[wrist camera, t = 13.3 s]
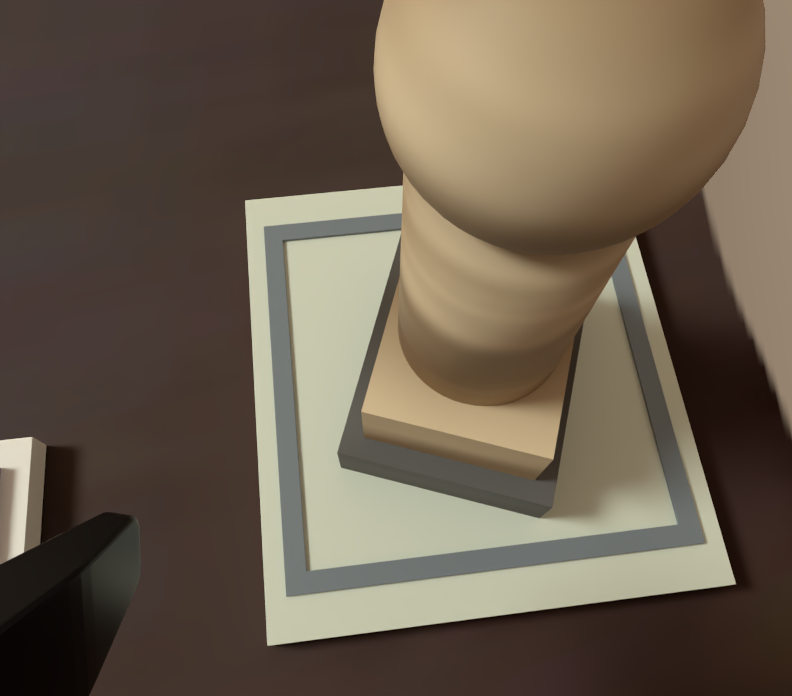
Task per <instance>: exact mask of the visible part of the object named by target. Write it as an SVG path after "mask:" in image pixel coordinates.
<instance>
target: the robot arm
mask: <svg viewBox="0 0 792 696" xmlns="http://www.w3.org/2000/svg"><path fill="white" fill-rule="evenodd" d="M140 570H141V563H140V530H139V523H138V520H137V519H136V518H135V517H134V516H132V515H125V514H118V513H112V512H105V513H102V514H100V515H98V516H96V517H94V518H92V519H90V520H88V521H86V522H84V523H82V524H80V525H78V526H76V527H74V528H72V529H70V530H68V531H66V532H64V533H62V534H60V535H58V536H56V537H54V538H52V539H50V540H48V541H46V542H44V543H42V544H40V545H38V546H36V547H34V548H32V549H30V550H28V551H26V552H24V553H22V554H20V555H18V556H16V557H14V558H12V559H10V560H8V561H6V562H4V563H2V564H0V696H89V695H90V693H91V690H92V688H93V686H94V684H95V682H96V679H97V677H98V675H99V673H100V670H101V668H102V666H103V663H104V661H105V659H106V656H107V654H108V652H109V650H110V647H111V645H112V643H113V640H114V638H115V636H116V633H117V631H118V629H119V626H120V624H121V622H122V619H123V617H124V615H125V612H126V610H127V608H128V606H129V603H130V601H131V599H132V596H133V594H134V592H135V589H136V587H137V584H138V581H139V576H140Z"/></svg>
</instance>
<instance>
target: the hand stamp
mask: <svg viewBox="0 0 792 696" xmlns="http://www.w3.org/2000/svg"><path fill="white" fill-rule="evenodd" d="M764 53H765V8H764V3H763V0H384V3H383V7H382V11H381V15H380V19H379V23H378V27H377V31H376V42H375V55H374V80H375V91H376V100H377V107H378V111H379V115H380V119H381V123H382V126H383V129H384V132H385V136H386V139H387V141H388V143H389V146H390V148H391V150H392V153H393V155H394V157H395V159H396V160H397V162H398V164H399V166H400V167H401V169H402V171H403V199H402V226H401V236H400V239H399V243H398V246H397V249H396V253H395V256H394V260H393V263H392V267H391V270H390V273H389V277H388V280H387V284H386V287H385V291H384V294H383V297H382V301H381V304H380V308H379V311H378V315H377V318H376V321H375V325H374V328H373V332H372V335H371V339H370V342H369V345H368V349H367V352H366V356H365V359H364V363H363V366H362V369H361V373H360V376H359V380H358V383H357V386H356V390H355V393H354V397H353V400H352V404H351V407H350V410H349V414H348V417H347V421H346V424H345V428H344V431H343V434H342V438H341V441H340V445H339V448H338V452H337V454H338V458H339V462H340V466H341V468H344V469H348V470H352V471H356V472H360V473H364V474H368V475H372V476H375V477H379V478H383V479H387V480H391V481H395V482H399V483H403V484H407V485H411V486H415V487H418V488H422V489H426V490H430V491H434V492H438V493H442V494H446V495H450V496H454V497H457V498H461V499H465V500H469V501H473V502H477V503H481V504H485V505H489V506H493V507H497V508H500V509H504V510H508V511H512V512H516V513H520V514H524V515H528V516H532V517H536V518H540V517H542V516H543V515H544V514H545V513H546V512H548V511H549V510H550V509H551V508H552V507H553V501H554V496H555V490H556V484H557V478H558V472H559V466H560V460H561V454H562V448H563V442H564V436H565V430H566V424H567V419H568V413H569V407H570V401H571V395H572V389H573V383H574V377H575V371H576V365H577V359H578V353H579V347H580V341H581V336H582V330H583V324H584V320H585V319H586V317H587V315H588V314H589V312H590V311H591V309H592V307H593V306H594V304H595V302H596V301H597V299H598V298H599V296H600V294H601V293H602V291H603V289H604V288H605V286H606V284H607V283H608V281H609V280H610V278H611V276H612V275H613V273H614V271H615V270H616V268H617V267H618V265H619V263H620V262H621V260H622V258H623V257H624V255H625V254H626V252H627V250H628V249H629V247H630V245H631V244H632V242H633V241H634V239H635V237H636V236H637V235H639V234H641V233H643V232H645V231H647V230H649V229H651V228H653V227H655V226H656V225H658V224H659V223H661V222H662V221H664V220H665V219H667V218H668V217H670V216H671V215H673V214H674V213H675V212H676V211H678V210H679V209H680V208H681V207H682V206H684V205H685V204H686V203H687V202H688V201H689V200H691V199H692V198H693V197H694V196H695V195H696V194H697V193H698V192H700V190H701V189H702V188H703V187H704V186H705V184H706V183H707V182H708V181H709V179H710V178H711V177H712V176H713V175H714V174H715V172H716V171H717V170H718V169H719V168H720V166H721V165H722V164H723V163H724V161H725V160H726V158H727V156H728V155H729V152H730V151H731V149H732V148H733V146H734V144H735V142H736V141H737V139H738V137H739V136H740V134H741V132H742V130H743V129H744V127H745V124H746V121H747V119H748V116H749V113H750V110H751V108H752V105H753V102H754V99H755V97H756V94H757V91H758V88H759V82H760V77H761V70H762V65H763V59H764Z"/></svg>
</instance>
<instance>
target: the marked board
mask: <svg viewBox="0 0 792 696" xmlns="http://www.w3.org/2000/svg"><path fill="white" fill-rule="evenodd" d="M402 199H403V186H393V187H383V188H372V189H362V190H351V191H341V192H330V193H320V194H309V195H299V196H288V197H278V198H267V199H257V200H246V201H245V207H246V227H247V247H248V267H249V287H250V307H251V327H252V347H253V367H254V387H255V407H256V427H257V447H258V467H259V487H260V507H261V527H262V547H263V567H264V587H265V607H266V627H267V646H273V645H280V644H288V643H296V642H303V641H311V640H319V639H326V638H334V637H341V636H349V635H357V634H364V633H372V632H379V631H387V630H395V629H402V628H410V627H417V626H425V625H433V624H440V623H448V622H456V621H463V620H471V619H478V618H486V617H494V616H501V615H509V614H516V613H524V612H532V611H539V610H547V609H554V608H562V607H570V606H577V605H585V604H593V603H600V602H608V601H615V600H623V599H631V598H638V597H646V596H653V595H661V594H669V593H676V592H684V591H691V590H699V589H707V588H714V587H722V586H728V585H734V584H736V583H735V579H734V576H733V572H732V569H731V565H730V562H729V558H728V555H727V551H726V548H725V544H724V541H723V538H722V534H721V531H720V527H719V524H718V520H717V517H716V513H715V510H714V506H713V503H712V499H711V496H710V492H709V489H708V486H707V482H706V479H705V475H704V472H703V468H702V465H701V461H700V458H699V454H698V451H697V447H696V444H695V440H694V437H693V434H692V430H691V427H690V423H689V420H688V416H687V413H686V409H685V406H684V402H683V399H682V395H681V392H680V389H679V385H678V382H677V378H676V375H675V371H674V368H673V364H672V361H671V357H670V354H669V350H668V347H667V343H666V340H665V337H664V333H663V330H662V326H661V323H660V319H659V316H658V312H657V309H656V305H655V302H654V298H653V295H652V291H651V288H650V285H649V281H648V278H647V274H646V271H645V267H644V264H643V260H642V257H641V253H640V250H639V246H638V243H637V239H636V237H635V239H634V241H633V242H632V244H631V245H630V247H629V249H628V250H627V252H626V254H625V255H624V257H623V258H622V260H621V262H620V263H619V265H618V267H617V268H616V270H615V271H614V273H613V275H612V276H611V278H610V280H609V281H608V283H607V284H606V286H605V288H604V289H603V291H602V293H601V294H600V296H599V298H598V299H597V301H596V302H595V304H594V306H593V307H592V309H591V311H590V312H589V314H588V315H587V317H586V319H585V320H584V324H583V330H582V336H581V341H580V347H579V353H578V359H577V365H576V371H575V377H574V383H573V389H572V395H571V401H570V407H569V413H568V419H567V424H566V430H565V436H564V442H563V448H562V454H561V460H560V466H559V472H558V478H557V484H556V490H555V496H554V501H553V507H552V508H551V509H550V510H549V511H548V512H546V513H545V514H544V515H543V516H542V517H540V518H536V517H532V516H528V515H524V514H520V513H516V512H512V511H508V510H504V509H500V508H497V507H493V506H489V505H485V504H481V503H477V502H473V501H469V500H465V499H461V498H457V497H454V496H450V495H446V494H442V493H438V492H434V491H430V490H426V489H422V488H418V487H415V486H411V485H407V484H403V483H399V482H395V481H391V480H387V479H383V478H379V477H375V476H372V475H368V474H364V473H360V472H356V471H352V470H348V469H344V468H341V466H340V462H339V458H338V454H337V452H338V448H339V445H340V441H341V438H342V434H343V431H344V428H345V424H346V421H347V417H348V414H349V410H350V407H351V404H352V400H353V397H354V393H355V390H356V386H357V383H358V380H359V376H360V373H361V369H362V366H363V363H364V359H365V356H366V352H367V349H368V345H369V342H370V339H371V335H372V332H373V328H374V325H375V321H376V318H377V315H378V311H379V308H380V304H381V301H382V297H383V294H384V291H385V287H386V284H387V280H388V277H389V273H390V270H391V267H392V263H393V260H394V256H395V253H396V249H397V246H398V243H399V239H400V236H401V226H402Z"/></svg>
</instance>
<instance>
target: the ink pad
mask: <svg viewBox="0 0 792 696" xmlns="http://www.w3.org/2000/svg"><path fill="white" fill-rule="evenodd" d="M45 460H46V445H45V444H43V443H42V442H40V441H38V440H37V439H35V438H33V437H28V438H19V439H10V440H1V441H0V564H2V563H4V562H6V561H8V560H10V559H12V558H14V557H16V556H18V555H20V554H22V553H24V552H26V551H28V550H30V549H32V548H34V547H36V546H38V545H40V537H41V521H42V506H43V491H44V475H45Z"/></svg>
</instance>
